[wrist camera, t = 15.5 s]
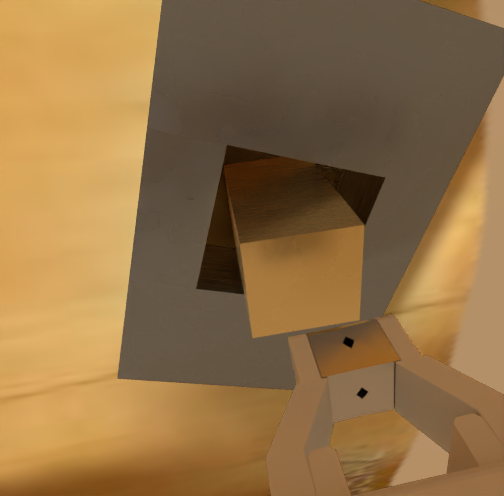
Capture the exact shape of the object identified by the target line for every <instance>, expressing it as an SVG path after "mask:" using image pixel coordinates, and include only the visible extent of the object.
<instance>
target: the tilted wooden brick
mask: <svg viewBox="0 0 504 496" xmlns="http://www.w3.org/2000/svg"><path fill="white" fill-rule="evenodd" d="M223 167H224V174H225V181H226V188H227V195H228V202H229V209H230V216H231V224H232V231H233V238H234V243H235V248H236V254H237V259H238V264H239V269H240V275H241V280H242V285H243V291H244V296H245V301H246V306H247V312H248V317H249V322H250V327H251V333H252V338H257V337H263V336H269V335H274V334H280V333H286V332H292V331H298V330H304V329H310V328H316V327H322V326H328V325H334V324H340V323H346V322H352V321H358V320H360V301H361V282H362V263H363V244H364V224H363V222H362V221H361V220H360V219H359V217H358V216H357V215H356V214H355V213H354V211H353V210H352V209H351V208H350V206H349V205H348V204H347V203H346V201H345V200H344V199H343V198H342V196H341V195H340V194H339V193H338V192H337V190H336V189H335V188H334V187H333V185H332V184H331V183H330V182H329V180H328V179H327V178H326V177H325V175H324V174H323V173H322V172H321V171H320V169H319V168H318V167H317V166H316V164H315V163H312V162H307V161H303V160H298V159H293V158H288V157H283V156H282V157H275V158H268V159H261V160H254V161H247V162H239V163H232V164H225V165H223Z"/></svg>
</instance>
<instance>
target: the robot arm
mask: <svg viewBox="0 0 504 496" xmlns="http://www.w3.org/2000/svg"><path fill="white" fill-rule="evenodd" d="M288 343H289V348H290V354H291V360H292V365H293V370H294V375H295V379H296V385H295V388H294V390H293V392H292V395H291V397H290V400H289V402H288V405H287V407H286V409H285V412H284V414H283V417H282V419H281V422H280V424H279V426H278V429H277V431H276V434H275V436H274V439H273V441H272V443H271V446H270V448H269V451H268V453H267V456H266V458H265V461H266V467H267V474H268V480H269V487H270V494H271V496H351V494H350V491H349V488H348V485H347V482H346V479H345V476H344V473H343V470H342V467H341V464H340V461H339V458H338V455H337V452H336V450H335V449H333V448H331V447H329V443H330V438H331V434H332V430H333V426H334V423H336V422H339V421H343V420H347V419H351V418H355V417H359V416H363V415H368V414H373V413H378V412H383V411H388V410H393V409H395V411H396V412H397V413H398V414H400V415H401V416H402V417H404V418H405V419H406V420H407V421H409V422H410V423H411V424H412V425H414V426H415V427H416V428H418V429H419V430H420V431H421V432H423V433H424V434H425V435H426V436H428V437H429V438H430V439H432V440H433V441H434V442H435V443H437V444H438V445H439V446H440V447H442V448H443V449H444V450H445V451H447V452H448V453H449V460H448V467H447V474H443V475H439V476H435V477H430V478H426V479H422V480H417V481H413V482H409V483H404V484H400V485H396V486H391V487H387V488H383V489H378V490H374V491H370V492H365V493H361V494H357V495H352V496H504V394H502V393H500V392H498V391H496V390H494V389H492V388H490V387H488V386H486V385H484V384H482V383H480V382H478V381H476V380H474V379H473V378H470V377H469V376H466V375H465V374H462V373H461V372H459V371H457V370H455V369H453V368H451V367H449V366H447V365H445V364H444V363H442V362H440V361H438V360H436V359H434V358H432V357H430V356H428V355H424V356H421V354H420V353H419V351H418V350H417V348H416V347H415V345H414V344H413V342H412V341H411V339H410V338H409V336H408V335H407V333H406V332H405V330H404V329H403V327H402V326H401V324H400V323H399V321H398V320H397V318H396V317H395V316H394V315H392V314H390V315H386V316H382V317H377V318H374V319H369V320H365V321H361V322H356V323H352V324H348V325H343V326H339V327H335V328H330V329H325V330H320V331H315V332H310V333H306V334H302V335H297V336H292V337H288Z"/></svg>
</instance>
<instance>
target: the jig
mask: <svg viewBox="0 0 504 496" xmlns="http://www.w3.org/2000/svg"><path fill="white" fill-rule="evenodd" d="M503 76H504V28H501V27H498V26H495V25H492V24H489V23H486V22H483V21H480V20H477V19H474V18H471V17H468V16H465V15H462V14H459V13H456V12H453V11H450V10H447V9H444V8H441V7H438V6H435V5H432V4H428V3H425V2H422V1H419V0H162V6H161V15H160V23H159V32H158V40H157V49H156V57H155V66H154V74H153V83H152V91H151V99H150V108H149V116H148V125H147V133H146V142H145V150H144V159H143V167H142V176H141V184H140V193H139V201H138V209H137V218H136V226H135V235H134V243H133V252H132V260H131V269H130V277H129V286H128V294H127V303H126V311H125V319H124V328H123V336H122V345H121V353H120V362H119V370H118V379H132V380H147V381H163V382H178V383H193V384H208V385H224V386H239V387H254V388H270V389H285V390H294V388H295V385H296V379H295V375H294V370H293V365H292V360H291V354H290V348H289V343H288V337H292V336H297V335H302V334H306V333H310V332H315V331H320V330H325V329H330V328H335V327H339V326H343V325H348V324H352V323H356V322H361V321H365V320H369V319H374V318H377V317H382V316H383V314H384V312H385V310H386V308H387V306H388V304H389V302H390V300H391V298H392V296H393V294H394V292H395V290H396V288H397V286H398V284H399V282H400V280H401V278H402V276H403V274H404V272H405V270H406V269H407V267H408V265H409V263H410V261H411V259H412V257H413V255H414V253H415V251H416V249H417V247H418V245H419V243H420V241H421V239H422V237H423V235H424V233H425V231H426V229H427V227H428V225H429V223H430V221H431V219H432V217H433V215H434V213H435V211H436V209H437V207H438V205H439V203H440V201H441V199H442V197H443V195H444V193H445V191H446V189H447V187H448V185H449V183H450V181H451V179H452V177H453V175H454V173H455V171H456V169H457V167H458V165H459V163H460V161H461V159H462V157H463V155H464V153H465V151H466V149H467V147H468V145H469V143H470V141H471V140H472V138H473V136H474V134H475V132H476V130H477V128H478V126H479V124H480V122H481V120H482V118H483V116H484V114H485V112H486V110H487V108H488V106H489V104H490V102H491V100H492V98H493V96H494V94H495V92H496V90H497V88H498V86H499V84H500V82H501V79H502V77H503ZM227 145H230V146H235V147H240V148H245V149H249V150H254V151H259V152H264V153H269V154H274V155H278V156H283V157H288V158H293V159H298V160H303V161H307V162H312V163H317V164H322V165H327V166H332V167H336V168H341V169H343V172H342V174H341V177H340V180H339V182H338V185H337V188H336V190H337V192H338V193H339V194H340V195H341V196H342V198H343V199H344V200H345V201H346V203H347V204H348V205H349V206H350V208H351V209H352V210H353V211H354V213H355V214H356V215H357V216H358V217H359V219H360V220H361V221H362V222H363V224H364V244H363V263H362V282H361V301H360V320H358V321H352V322H346V323H340V324H334V325H328V326H322V327H316V328H310V329H304V330H298V331H292V332H286V333H280V334H274V335H269V336H263V337H257V338H252V333H251V327H250V322H249V317H248V312H247V306H246V301H245V296H244V291H243V285H242V280H241V275H240V269H239V264H238V259H237V254H236V249H232V248H225V247H218V246H211V245H206V240H207V236H208V231H209V227H210V222H211V217H212V213H213V208H214V203H215V199H216V194H217V189H218V185H219V180H220V176H221V171H222V166H223V162H224V157H225V152H226V148H227Z"/></svg>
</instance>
